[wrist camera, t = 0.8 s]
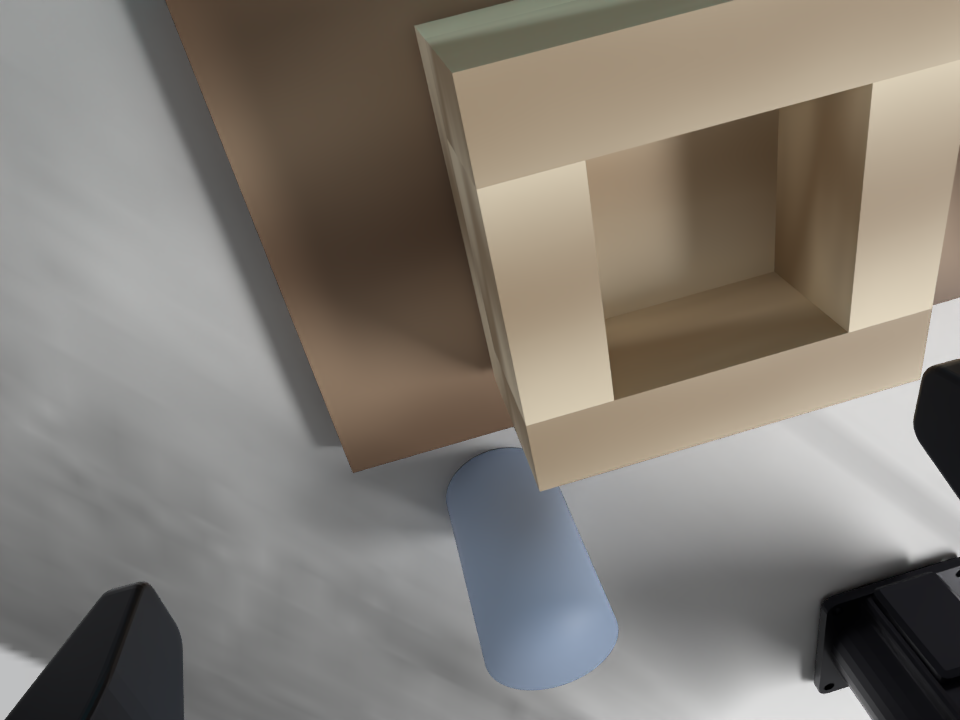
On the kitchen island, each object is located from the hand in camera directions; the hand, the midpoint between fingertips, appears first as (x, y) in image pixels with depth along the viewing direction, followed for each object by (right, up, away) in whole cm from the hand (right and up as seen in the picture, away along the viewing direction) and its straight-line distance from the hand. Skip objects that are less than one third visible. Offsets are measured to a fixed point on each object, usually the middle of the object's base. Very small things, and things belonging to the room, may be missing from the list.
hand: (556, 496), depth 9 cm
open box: (+3, +6, +10) cm, 12 cm away
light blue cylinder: (0, -3, +16) cm, 16 cm away
